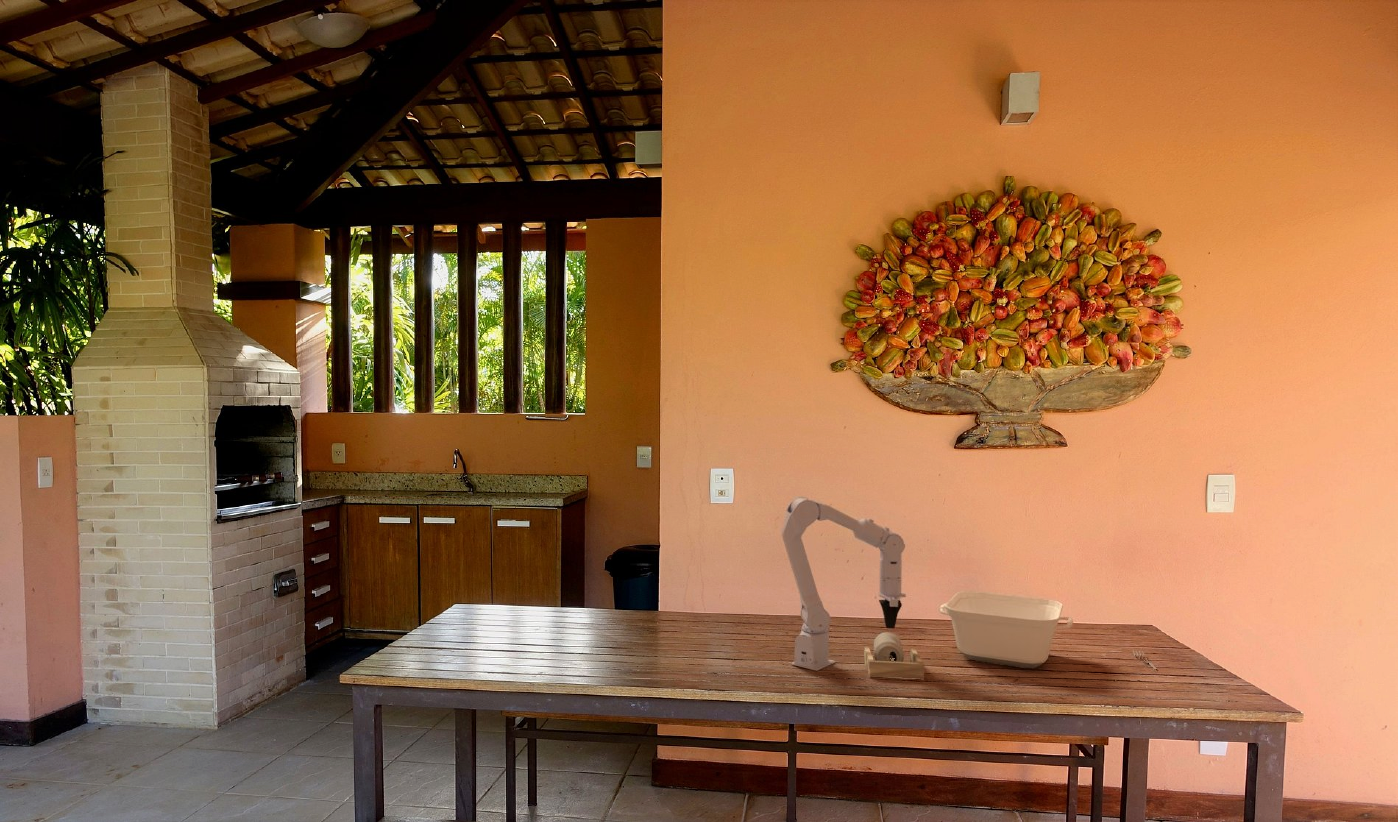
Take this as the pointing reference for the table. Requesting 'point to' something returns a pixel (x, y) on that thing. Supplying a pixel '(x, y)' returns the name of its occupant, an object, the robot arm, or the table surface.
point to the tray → (894, 666)
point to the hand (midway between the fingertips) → (890, 627)
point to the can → (888, 648)
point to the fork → (1146, 662)
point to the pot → (1004, 627)
